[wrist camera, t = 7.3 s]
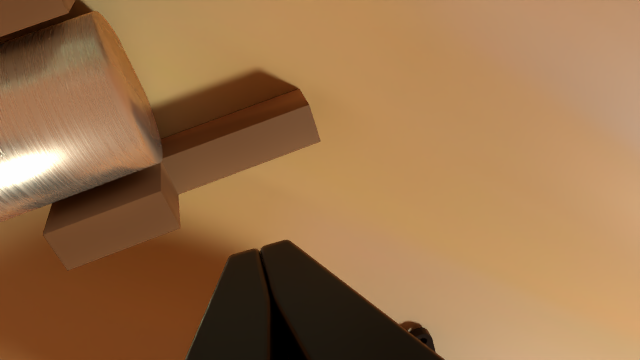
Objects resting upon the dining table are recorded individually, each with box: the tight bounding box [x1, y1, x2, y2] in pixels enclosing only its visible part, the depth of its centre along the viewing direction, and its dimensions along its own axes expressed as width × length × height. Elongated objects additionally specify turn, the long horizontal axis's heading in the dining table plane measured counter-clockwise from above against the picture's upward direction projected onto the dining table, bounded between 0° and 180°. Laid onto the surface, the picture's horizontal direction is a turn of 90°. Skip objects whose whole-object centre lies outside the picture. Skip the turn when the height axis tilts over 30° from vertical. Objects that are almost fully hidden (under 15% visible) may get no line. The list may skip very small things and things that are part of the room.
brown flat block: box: [0, 0, 320, 271], centre depth 17 cm, size 8×8×4 cm
